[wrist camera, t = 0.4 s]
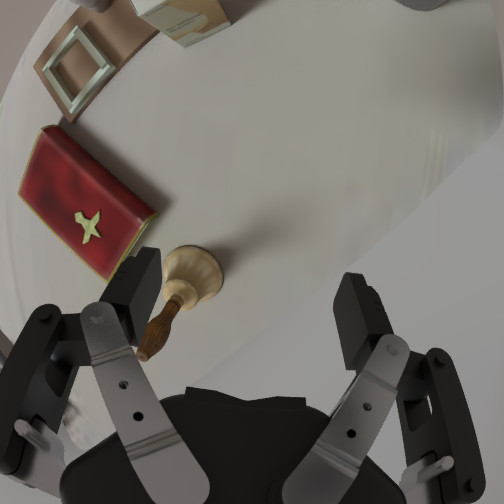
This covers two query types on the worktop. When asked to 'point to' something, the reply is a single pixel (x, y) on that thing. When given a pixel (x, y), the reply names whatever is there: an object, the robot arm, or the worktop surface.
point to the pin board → (90, 52)
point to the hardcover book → (82, 202)
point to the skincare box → (183, 18)
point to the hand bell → (181, 293)
